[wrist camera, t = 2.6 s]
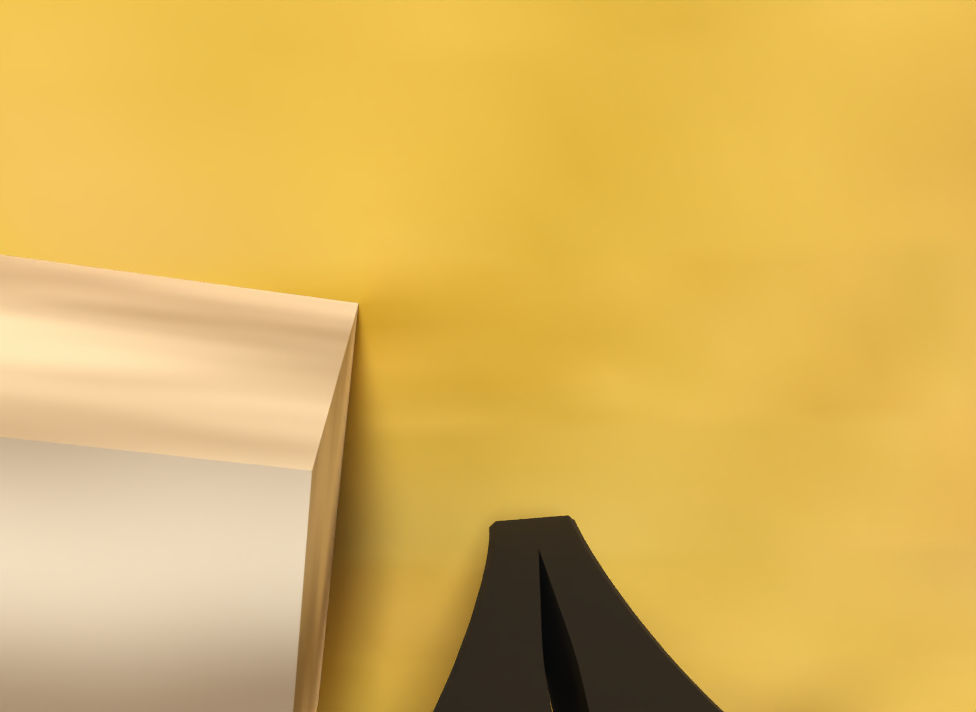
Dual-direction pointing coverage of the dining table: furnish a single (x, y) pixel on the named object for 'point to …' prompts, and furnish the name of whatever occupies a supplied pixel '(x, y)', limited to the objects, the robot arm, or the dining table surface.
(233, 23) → the dining table surface
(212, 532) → the maple block
